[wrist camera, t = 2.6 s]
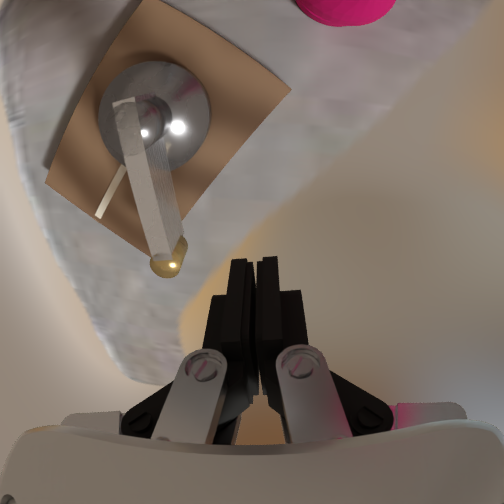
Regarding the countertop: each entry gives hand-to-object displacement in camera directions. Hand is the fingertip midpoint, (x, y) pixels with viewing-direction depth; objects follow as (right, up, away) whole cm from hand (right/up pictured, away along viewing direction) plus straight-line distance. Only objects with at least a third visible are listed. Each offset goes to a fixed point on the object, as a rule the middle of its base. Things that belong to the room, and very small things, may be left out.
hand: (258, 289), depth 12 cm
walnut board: (-9, +12, +13) cm, 20 cm away
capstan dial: (-7, +9, +12) cm, 17 cm away
